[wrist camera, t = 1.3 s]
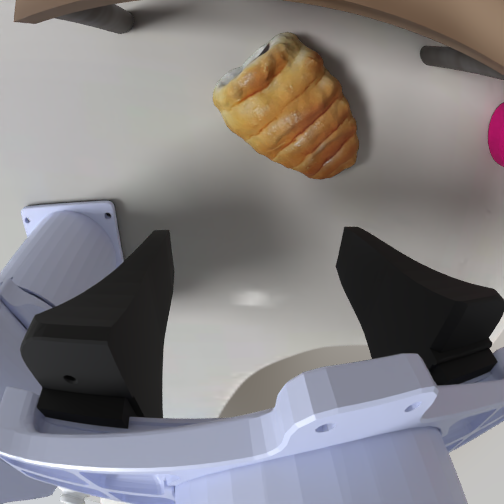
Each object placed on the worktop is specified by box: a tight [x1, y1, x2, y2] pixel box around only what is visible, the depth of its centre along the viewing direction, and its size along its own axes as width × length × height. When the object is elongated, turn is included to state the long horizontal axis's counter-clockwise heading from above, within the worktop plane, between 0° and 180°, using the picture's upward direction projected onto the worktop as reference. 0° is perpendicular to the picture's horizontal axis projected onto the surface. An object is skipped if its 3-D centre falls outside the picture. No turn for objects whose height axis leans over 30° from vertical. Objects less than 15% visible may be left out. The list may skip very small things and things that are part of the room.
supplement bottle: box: [58, 486, 90, 504], centre depth 39 cm, size 7×7×13 cm
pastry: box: [213, 32, 359, 179], centre depth 17 cm, size 9×7×4 cm
